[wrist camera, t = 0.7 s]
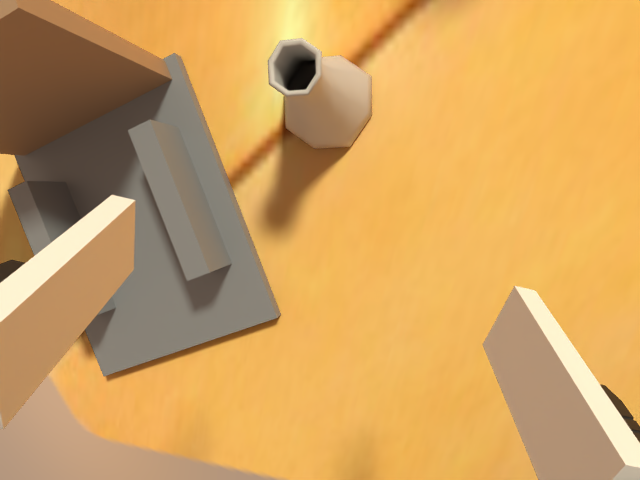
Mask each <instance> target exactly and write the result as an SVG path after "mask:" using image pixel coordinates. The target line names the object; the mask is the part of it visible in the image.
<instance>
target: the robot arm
mask: <svg viewBox="0 0 640 480" xmlns="http://www.w3.org/2000/svg"><path fill="white" fill-rule="evenodd" d="M134 241H135V200H133V199H128V198H124V197H119V196H115V195H111V196H110V197H109V198H107V199H106V200H105V201H103V202H102V203H101V204H100V205H98V206H97V207H96V208H95V209H93V210H92V211H91V212H90V213H88V214H87V215H86V216H85V217H83V218H82V219H81V220H79V221H78V222H77V223H76V224H74V225H73V226H72V227H71V228H69V229H68V230H67V231H66V232H64V233H63V234H62V235H60V236H59V237H58V238H57V239H55V240H54V241H53V242H52V243H50V244H49V245H48V246H47V247H45V248H44V249H43V250H41V251H40V252H39V253H38V254H36V255H35V256H34V257H33V258H31V259H30V260H29V261H28V262H26V263H24V262H19V261H15V260H10V261H7V262H5V263H2V264H0V429H4V428H5V427H6V426H7V424H8V423H9V422H10V421H11V420H12V418H13V417H14V416H15V415H16V413H17V412H18V411H19V410H20V408H21V407H22V406H23V405H24V404H25V402H26V401H27V400H28V399H29V397H30V396H31V395H32V394H33V393H34V391H35V390H36V389H37V388H38V386H39V385H40V384H41V383H42V381H43V380H44V379H45V378H46V377H47V375H48V374H49V373H50V372H51V370H52V369H53V368H54V367H55V366H56V364H57V363H58V362H59V361H60V359H61V358H62V357H63V356H64V354H65V353H66V352H67V351H68V350H69V348H70V347H71V346H72V345H73V343H74V342H75V341H76V340H77V339H78V337H79V336H80V335H81V334H82V332H83V331H84V330H85V329H86V327H87V326H88V325H89V324H90V323H91V321H92V320H93V319H94V318H95V316H96V315H97V314H98V313H99V312H100V310H101V309H102V308H103V307H104V305H105V304H106V303H107V302H108V300H109V299H110V298H111V297H112V296H113V294H114V293H115V292H116V291H117V289H118V288H119V287H120V286H121V285H122V283H123V282H124V281H125V280H126V278H127V277H128V276H129V275H130V273H131V272H132V271H133V270H134ZM483 347H484V349H485V352H486V354H487V357H488V359H489V361H490V364H491V366H492V369H493V371H494V374H495V376H496V378H497V381H498V383H499V386H500V388H501V390H502V393H503V395H504V398H505V400H506V402H507V405H508V407H509V410H510V412H511V414H512V417H513V419H514V422H515V424H516V426H517V429H518V431H519V434H520V436H521V439H522V441H523V443H524V446H525V448H526V451H527V453H528V455H529V458H530V460H531V463H532V465H533V467H534V470H535V472H536V475H537V477H538V479H539V480H640V426H639V425H638V423H637V422H636V421H634V420H633V416H632V415H631V413H630V412H629V411H628V409H627V408H626V406H625V405H624V404H623V402H622V401H621V400H620V399H619V398H618V397H617V396H616V395H615V394H613V393H612V392H611V391H610V390H609V389H608V388H607V387H606V386H605V385H600V384H599V383H598V381H597V380H596V378H595V377H594V375H593V374H592V373H591V371H590V370H589V368H588V367H587V365H586V364H585V362H584V361H583V359H582V358H581V356H580V355H579V354H578V352H577V351H576V349H575V348H574V346H573V345H572V343H571V342H570V340H569V339H568V338H567V336H566V335H565V333H564V332H563V330H562V329H561V327H560V326H559V324H558V323H557V321H556V320H555V319H554V317H553V316H552V314H551V313H550V311H549V310H548V308H547V307H546V305H545V304H544V302H543V301H542V300H541V298H540V297H539V295H538V294H537V292H536V291H535V290H530V289H526V288H521V287H517V286H514V288H513V290H512V292H511V293H510V295H509V297H508V299H507V301H506V303H505V304H504V306H503V308H502V310H501V312H500V314H499V315H498V317H497V319H496V321H495V323H494V325H493V326H492V328H491V330H490V332H489V334H488V336H487V338H486V339H485V341H484V343H483Z"/></svg>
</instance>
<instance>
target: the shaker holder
mask: <svg viewBox="0 0 640 480" xmlns="http://www.w3.org/2000/svg"><path fill="white" fill-rule="evenodd" d="M0 154H11V155H15V158H16V160H17V163H18V165H19V168H20V170H21V173H22V175H23V178H24V180H25V182H23V183H21V184H19V185H17V186H15V187H13V188H11V189H9V190H8V192H9V194H10V197H11V199H12V202H13V204H14V207H15V209H16V212H17V214H18V217H19V219H20V222H21V224H22V227H23V229H24V231H25V234H26V236H27V239H28V241H29V244H30V246H31V249H32V251H33V254H34V256H35V255H36V254H38V253H39V252H40V251H41V250H43V249H44V248H45V247H47V246H48V245H49V244H50V243H52V242H53V241H54V240H55V239H57V238H58V237H59V236H60V235H62V234H63V233H64V232H66V231H67V230H68V229H69V228H71V227H72V226H73V225H74V224H76V223H77V222H78V221H79V220H81V219H82V218H83V217H85V216H86V215H87V214H88V213H90V212H91V211H92V210H93V209H95V208H96V207H97V206H98V205H100V204H101V203H102V202H103V201H105V200H106V199H107V198H109V197H110V196H111V195H115V196H119V197H124V198H128V199H133V200H135V241H134V270H133V271H132V272H131V273H130V275H129V276H128V277H127V278H126V280H125V281H124V282H123V283H122V285H121V286H120V287H119V288H118V289H117V291H116V292H115V293H114V294H113V296H112V297H111V298H110V299H109V300H108V302H107V303H106V304H105V305H104V307H103V308H102V309H101V310H100V312H99V313H98V314H97V315H96V316H95V318H94V319H93V320H92V321H91V323H90V324H89V325H88V326H87V327H86V329H85V331H86V334H87V336H88V339H89V341H90V344H91V346H92V349H93V351H94V354H95V356H96V358H97V361H98V363H99V366H100V368H101V371H102V373H103V376H106V375H109V374H112V373H115V372H118V371H121V370H124V369H127V368H130V367H133V366H136V365H139V364H142V363H145V362H148V361H151V360H154V359H157V358H160V357H163V356H166V355H169V354H172V353H175V352H178V351H181V350H183V349H186V348H189V347H192V346H195V345H198V344H201V343H204V342H207V341H210V340H213V339H216V338H219V337H222V336H225V335H228V334H231V333H234V332H237V331H240V330H243V329H246V328H249V327H252V326H255V325H258V324H261V323H264V322H267V321H270V320H273V319H276V318H278V317H279V316H280V315H281V313H280V311H279V308H278V306H277V303H276V301H275V298H274V295H273V293H272V290H271V288H270V285H269V283H268V280H267V277H266V275H265V272H264V270H263V267H262V265H261V262H260V259H259V257H258V254H257V252H256V249H255V246H254V244H253V241H252V239H251V236H250V234H249V231H248V228H247V226H246V223H245V221H244V218H243V216H242V213H241V210H240V208H239V205H238V203H237V200H236V198H235V195H234V192H233V190H232V187H231V185H230V182H229V180H228V177H227V174H226V172H225V169H224V167H223V164H222V162H221V159H220V156H219V154H218V151H217V149H216V146H215V144H214V141H213V138H212V136H211V133H210V131H209V128H208V125H207V123H206V120H205V118H204V115H203V113H202V110H201V107H200V105H199V102H198V100H197V97H196V95H195V92H194V89H193V87H192V84H191V82H190V79H189V77H188V74H187V71H186V69H185V66H184V64H183V61H182V59H181V57H180V56H179V55H177V54H175V53H173V54H172V55H170V56H168V57H166V58H164V59H161V58H159V57H157V56H155V55H153V54H151V53H149V52H147V51H145V50H144V49H142V48H140V47H138V46H136V45H134V44H132V43H130V42H128V41H127V40H125V39H123V38H121V37H119V36H117V35H115V34H113V33H111V32H110V31H108V30H106V29H104V28H102V27H100V26H98V25H96V24H94V23H93V22H91V21H89V20H87V19H85V18H83V17H81V16H79V15H77V14H76V13H74V12H72V11H70V10H68V9H66V8H64V7H62V6H60V5H59V4H57V3H55V2H53V1H51V0H0Z"/></svg>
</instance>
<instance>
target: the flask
mask: <svg viewBox="0 0 640 480" xmlns="http://www.w3.org/2000/svg"><path fill="white" fill-rule="evenodd" d="M268 74H269V85H270V86H272V87H273V88H275V89H276V90H278V91H279V92H280V93H282V94H283V95H284V97H285V123H286V129H287V130H289V131H290V132H292V133H293V134H294V135H296V136H297V137H299V138H300V139H302V140H303V141H304V142H306V143H307V144H309V145H310V146H311V147H313V148H314V149H318V148H336V147H351V145H352V144H353V142H354V141H355V139H356V138H357V136H358V135H359V133H360V132H361V130H362V129H363V128H364V126H365V125H366V123H367V122H368V120H369V119H370V117H371V116H372V79H371V75H369V74H368V73H366V72H365V71H363V70H362V69H360V68H359V67H357V66H356V65H354V64H353V63H351V62H350V61H348V60H347V59H345V58H344V57H343V56H341V55H340V56H330V57H322V52H321V51H320V50H319V49H317V48H316V47H314V46H313V45H311V44H310V43H308V42H307V41H305V40H304V39H302V38H300V39H291V40H282V41H280V42H279V43H278V45H277V47H276V48H275V50H274V52H273V53H272V55H271V57H270V58H269V60H268Z"/></svg>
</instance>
